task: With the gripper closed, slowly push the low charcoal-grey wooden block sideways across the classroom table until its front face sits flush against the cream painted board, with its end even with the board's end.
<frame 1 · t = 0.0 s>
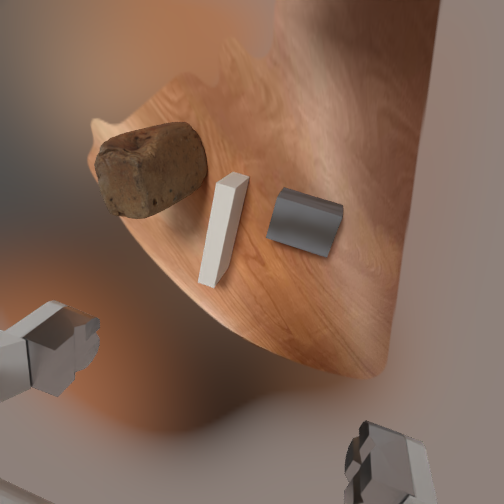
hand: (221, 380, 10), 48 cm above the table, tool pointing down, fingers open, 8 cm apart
block: (187, 154, 58), on the table
cream board: (230, 222, 61), on the table
charcoal block: (307, 215, 57), on the table
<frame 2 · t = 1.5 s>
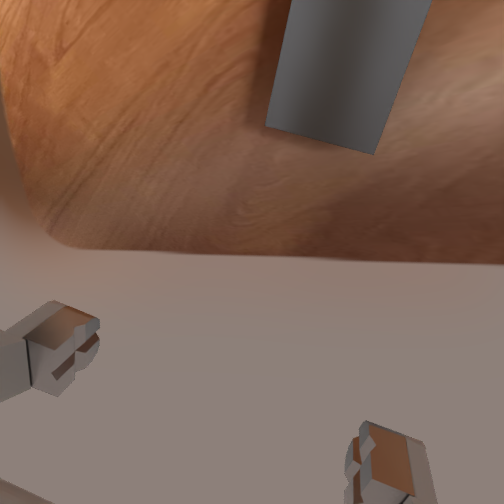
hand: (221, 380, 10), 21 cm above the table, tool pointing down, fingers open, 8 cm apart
charcoal block: (348, 57, 24), on the table
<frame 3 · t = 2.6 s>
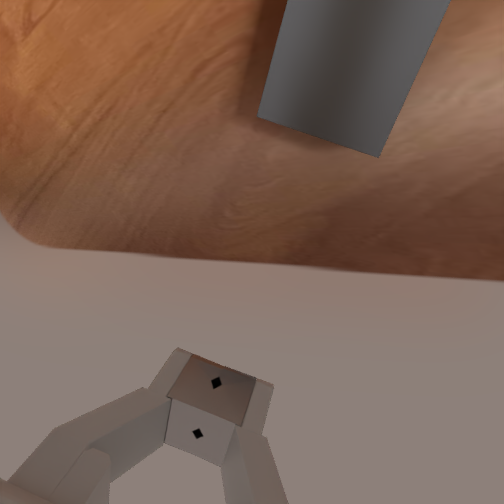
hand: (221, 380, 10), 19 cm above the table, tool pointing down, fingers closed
charcoal block: (353, 46, 21), on the table
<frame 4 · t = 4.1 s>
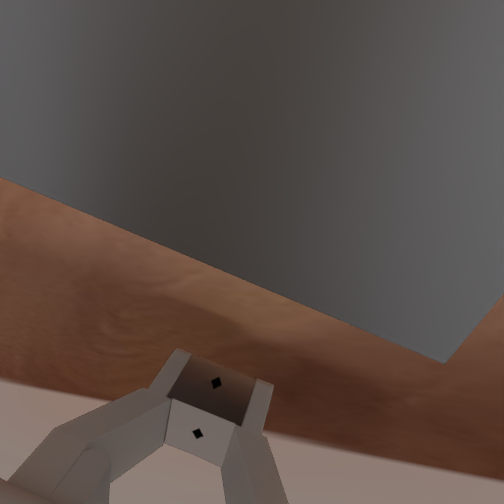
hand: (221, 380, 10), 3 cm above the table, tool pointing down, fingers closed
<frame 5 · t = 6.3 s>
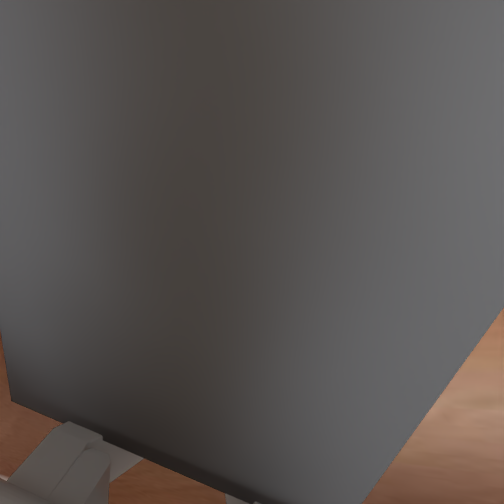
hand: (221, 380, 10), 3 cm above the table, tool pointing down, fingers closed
charcoal block: (282, 163, 10), on the table, touching gripper
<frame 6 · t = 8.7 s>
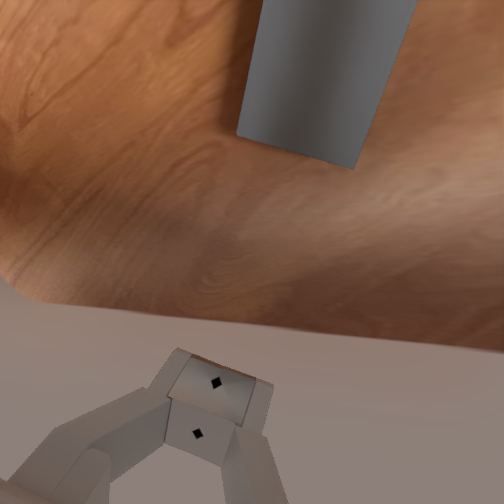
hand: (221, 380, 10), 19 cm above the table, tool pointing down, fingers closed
charcoal block: (327, 62, 22), on the table
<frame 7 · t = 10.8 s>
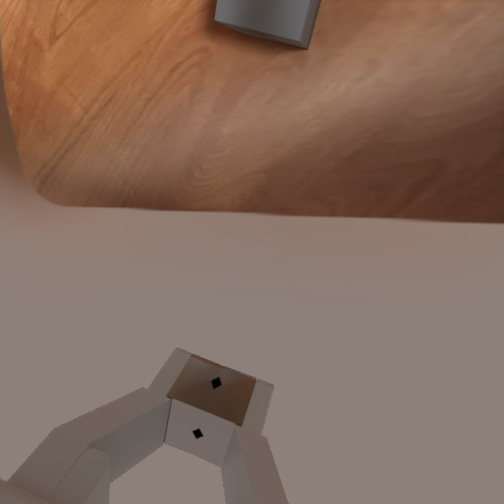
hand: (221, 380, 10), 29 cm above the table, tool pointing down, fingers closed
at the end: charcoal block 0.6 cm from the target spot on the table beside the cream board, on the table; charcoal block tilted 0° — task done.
